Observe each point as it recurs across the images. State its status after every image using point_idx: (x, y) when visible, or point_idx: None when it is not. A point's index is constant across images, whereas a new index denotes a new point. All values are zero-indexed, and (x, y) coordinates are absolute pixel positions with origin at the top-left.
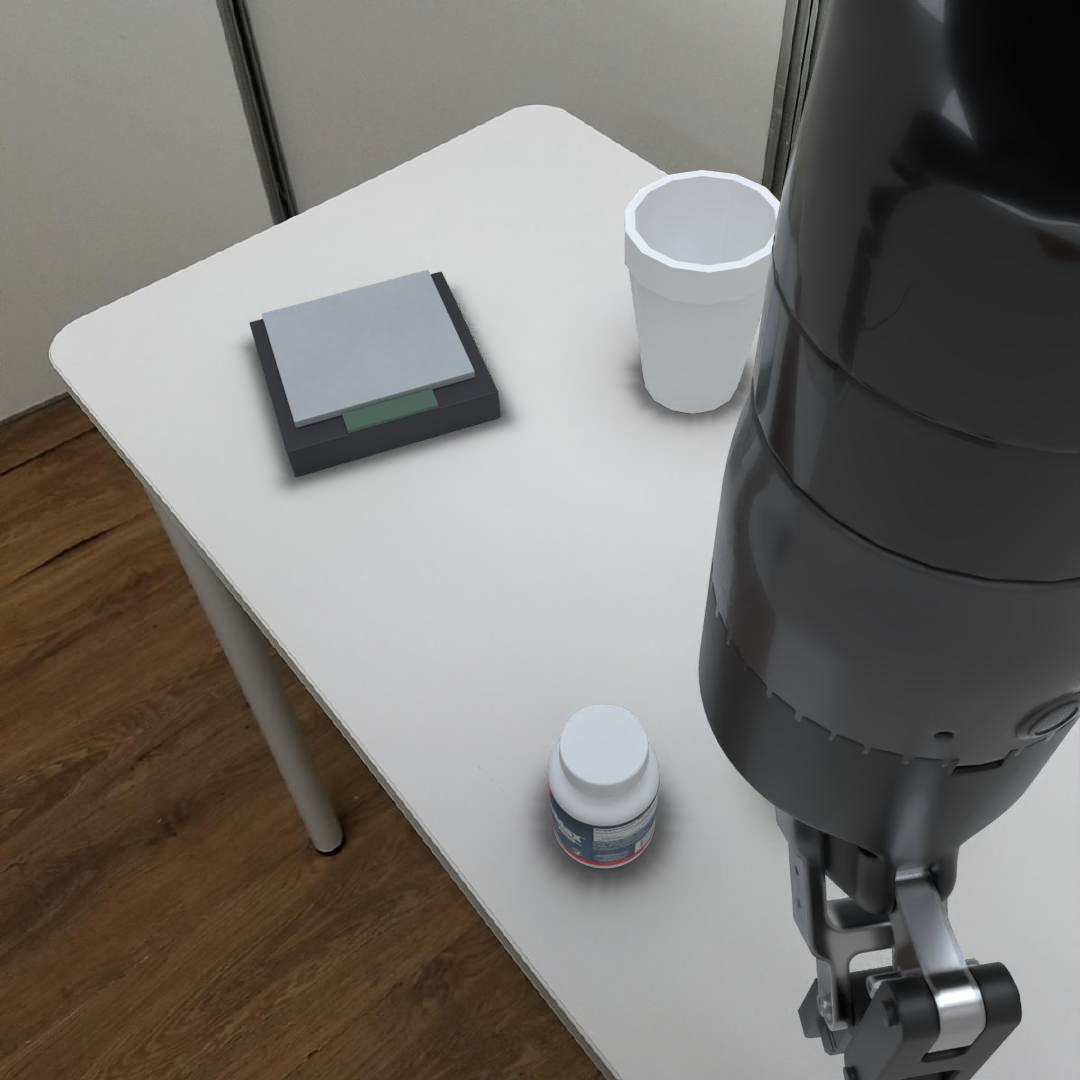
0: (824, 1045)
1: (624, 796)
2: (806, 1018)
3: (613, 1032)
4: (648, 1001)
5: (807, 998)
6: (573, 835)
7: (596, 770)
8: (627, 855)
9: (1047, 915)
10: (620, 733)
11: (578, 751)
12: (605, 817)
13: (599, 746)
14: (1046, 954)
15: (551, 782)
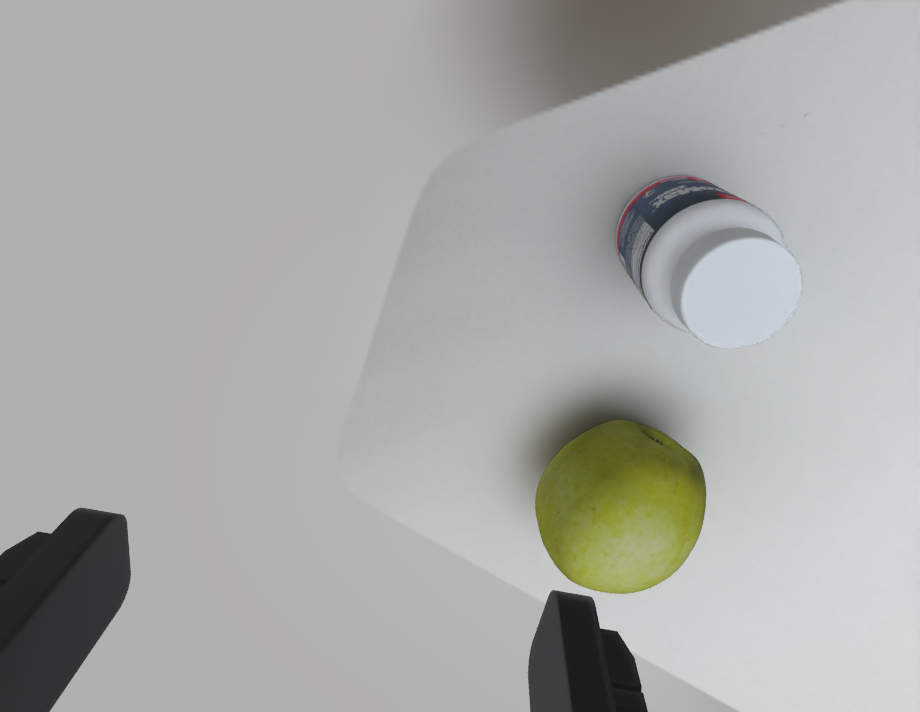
0: (39, 539)
1: (668, 283)
2: (52, 553)
3: (466, 159)
4: (481, 204)
5: (41, 595)
6: (663, 200)
7: (711, 273)
8: (619, 244)
9: (431, 523)
10: (741, 320)
11: (749, 261)
12: (656, 251)
13: (740, 289)
14: (406, 508)
15: (732, 204)
